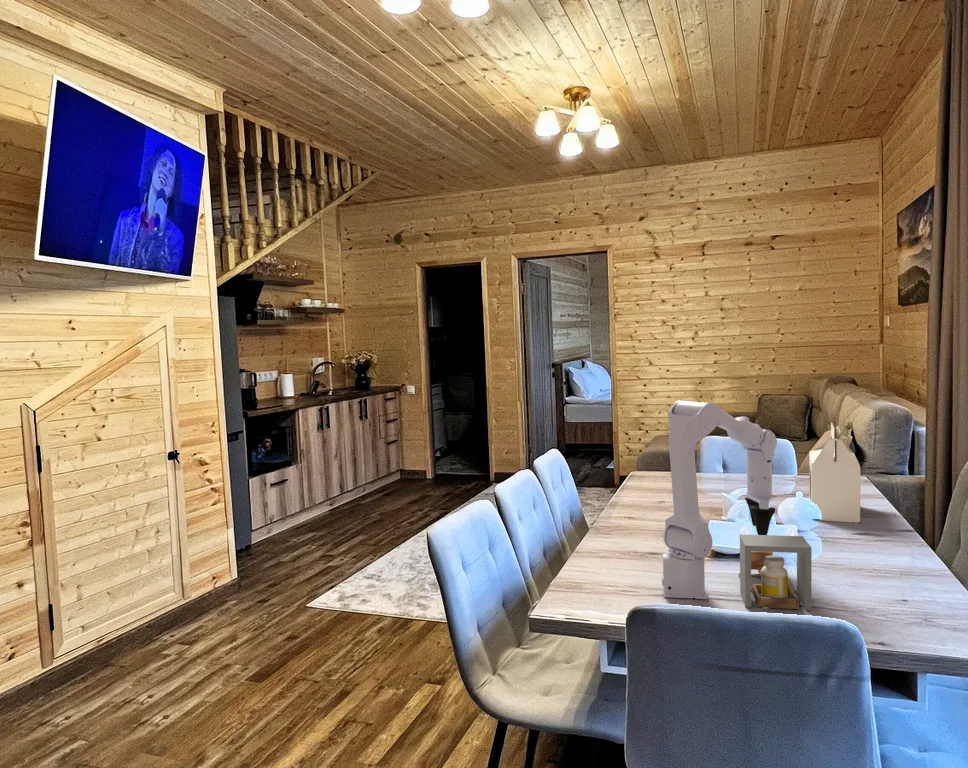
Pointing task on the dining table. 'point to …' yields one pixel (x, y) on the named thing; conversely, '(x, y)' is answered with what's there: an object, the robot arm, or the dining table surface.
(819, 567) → the dining table surface
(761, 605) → the sled
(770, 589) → the supplement bottle
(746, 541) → the tunnel
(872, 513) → the dining table surface
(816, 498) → the gable box
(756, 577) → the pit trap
